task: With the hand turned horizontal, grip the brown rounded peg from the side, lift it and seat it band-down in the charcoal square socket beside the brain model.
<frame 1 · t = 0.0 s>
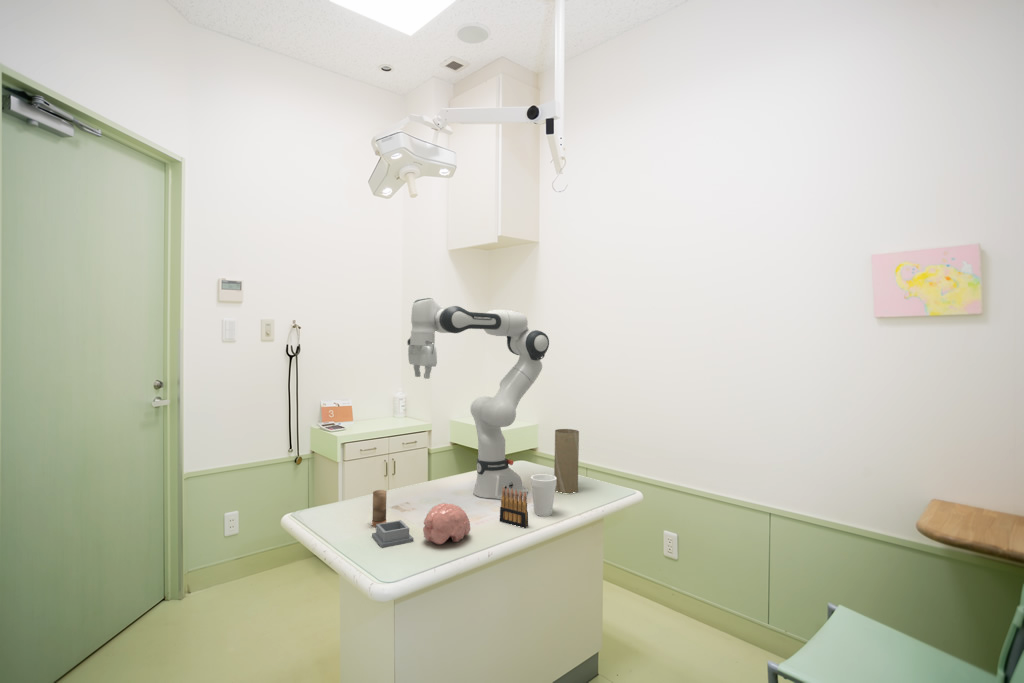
hand: (422, 377, 190), 48 cm above the table, tool pointing down, fingers open, 8 cm apart
tube: (565, 490, 212), on the table
foam cup: (543, 513, 182), on the table
brain: (447, 540, 157), on the table
socket block: (392, 538, 156), on the table
ammunition clip: (513, 524, 171), on the table
brown rounded peg: (379, 524, 168), on the table
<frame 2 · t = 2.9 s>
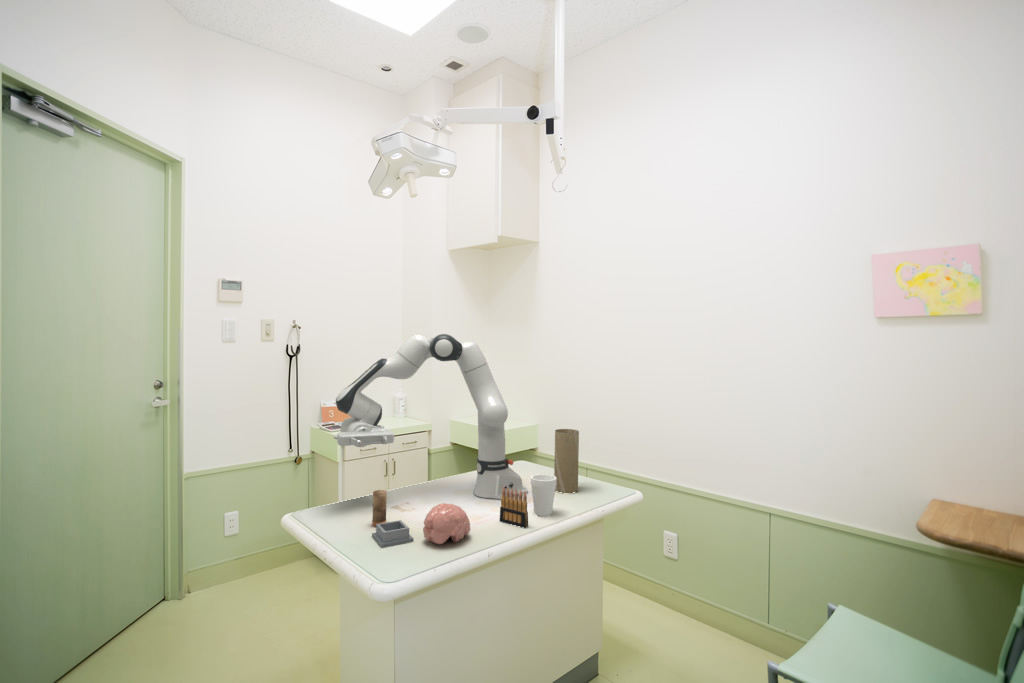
hand: (372, 442, 178), 25 cm above the table, tool horizontal, fingers open, 8 cm apart
nothing on the table moved.
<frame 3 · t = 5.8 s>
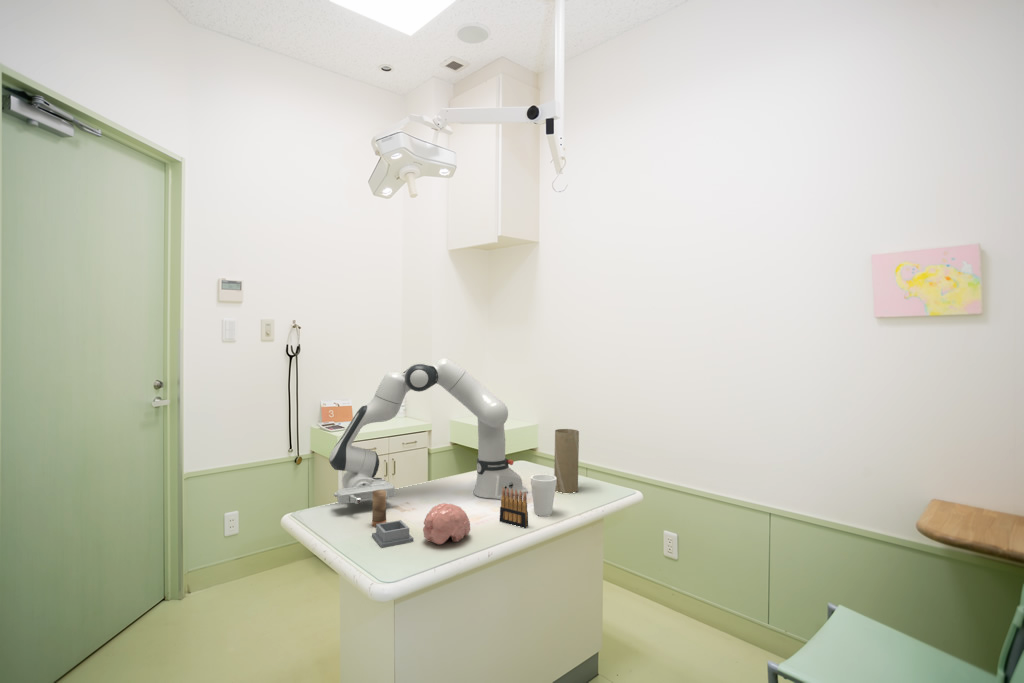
hand: (371, 499, 176), 6 cm above the table, tool horizontal, fingers open, 8 cm apart
nothing on the table moved.
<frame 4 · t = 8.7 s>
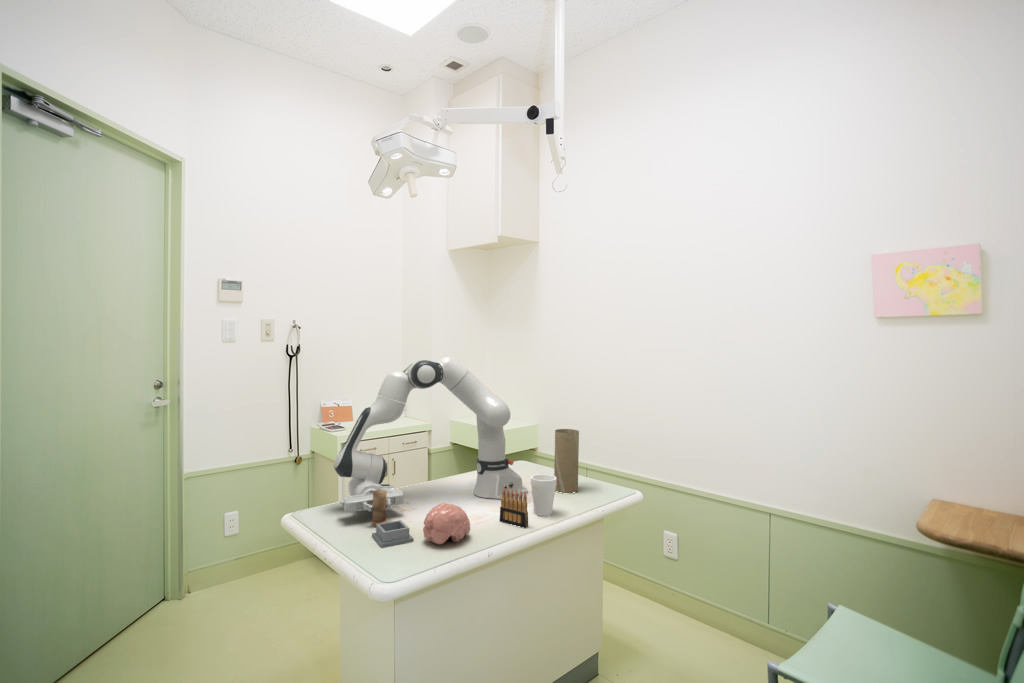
hand: (380, 507, 168), 6 cm above the table, tool horizontal, fingers closed on brown rounded peg, 4 cm apart
brown rounded peg: (379, 524, 168), on the table, touching gripper
everything else where it was.
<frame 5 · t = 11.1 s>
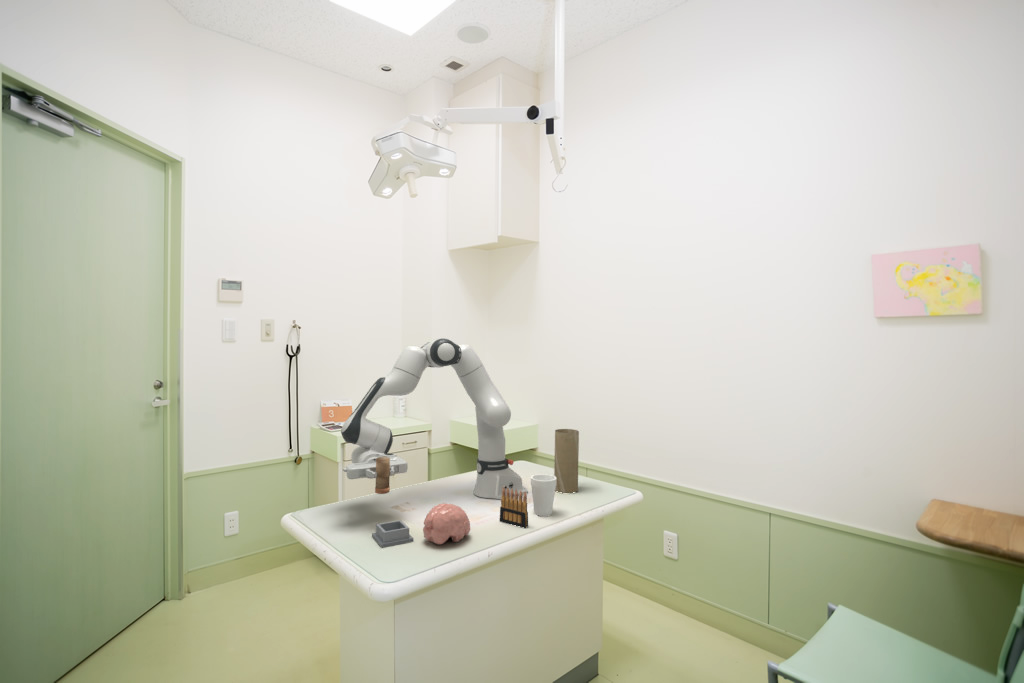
hand: (383, 474, 165), 18 cm above the table, tool horizontal, fingers closed on brown rounded peg, 4 cm apart
brown rounded peg: (382, 491, 166), point 12 cm above the table, touching gripper
everything else where it was.
when the fingers open (8 cm above the table, at t = 14.0 s): brown rounded peg drops 1 cm, resting on socket block.
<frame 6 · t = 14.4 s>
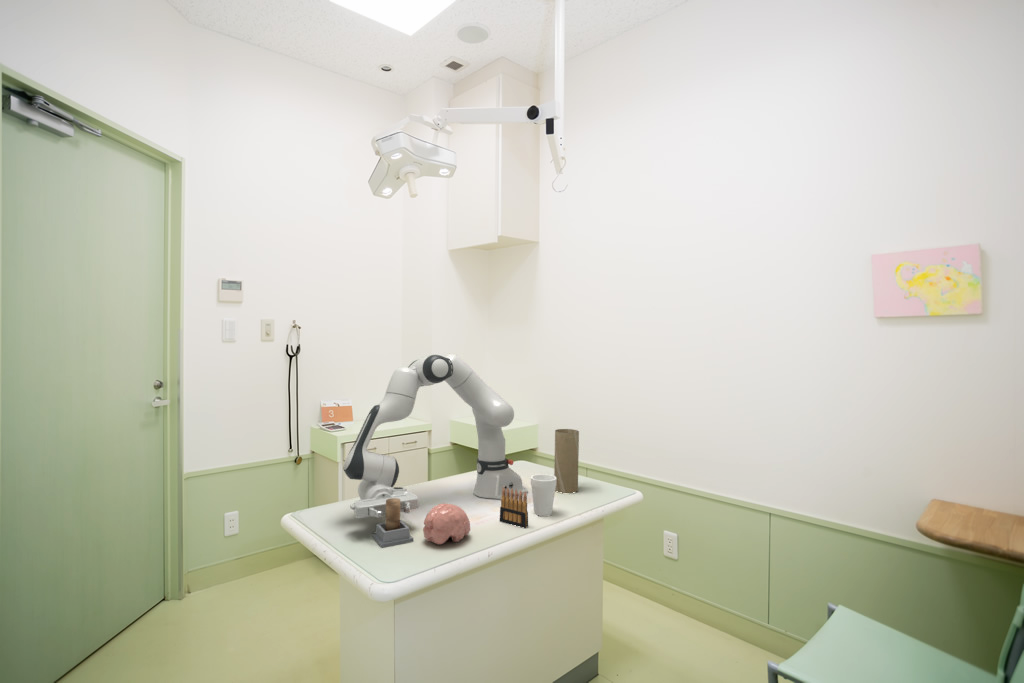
hand: (393, 512, 156), 8 cm above the table, tool horizontal, fingers open, 8 cm apart
brown rounded peg: (392, 535, 156), point 1 cm above the table, touching socket block
everything else where it was.
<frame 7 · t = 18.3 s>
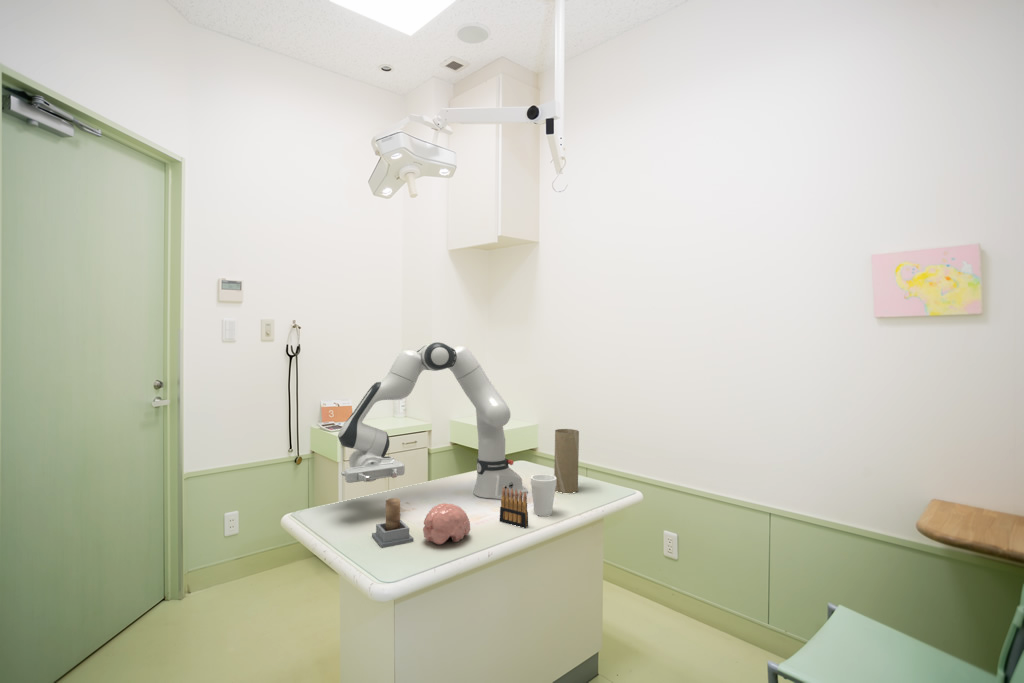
hand: (381, 477, 168), 16 cm above the table, tool horizontal, fingers open, 8 cm apart
nothing on the table moved.
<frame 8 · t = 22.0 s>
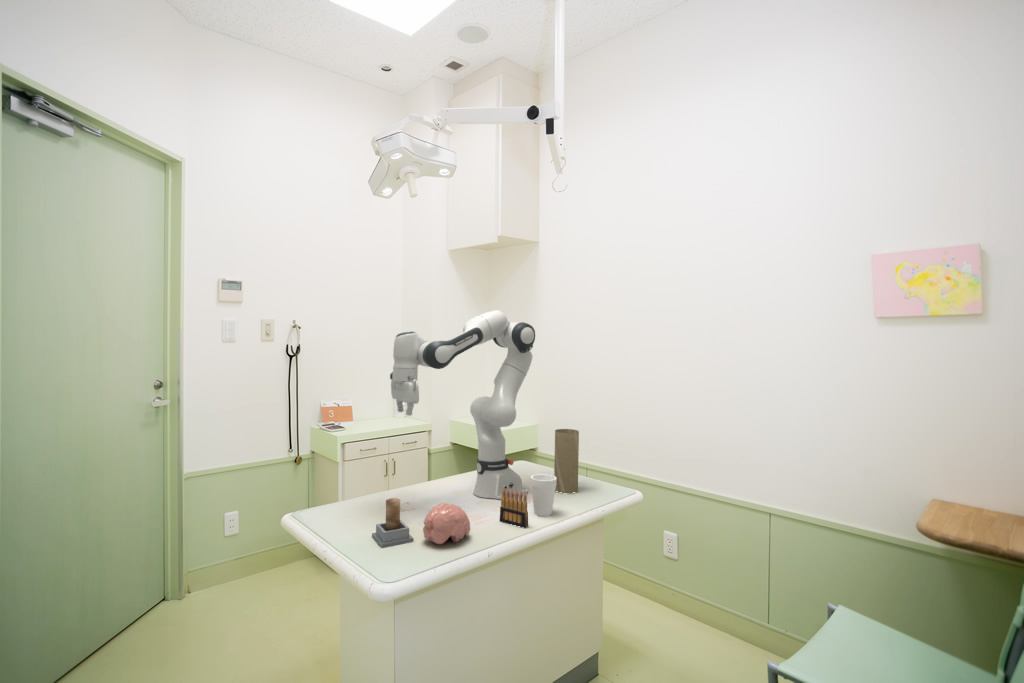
hand: (404, 413, 184), 35 cm above the table, tool pointing down, fingers open, 8 cm apart
nothing on the table moved.
at the end: brown rounded peg 0.0 cm off-centre on the socket block, point 1.0 cm above the socket block's base; brown rounded peg tilted 0°; the gripper is holding nothing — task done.
